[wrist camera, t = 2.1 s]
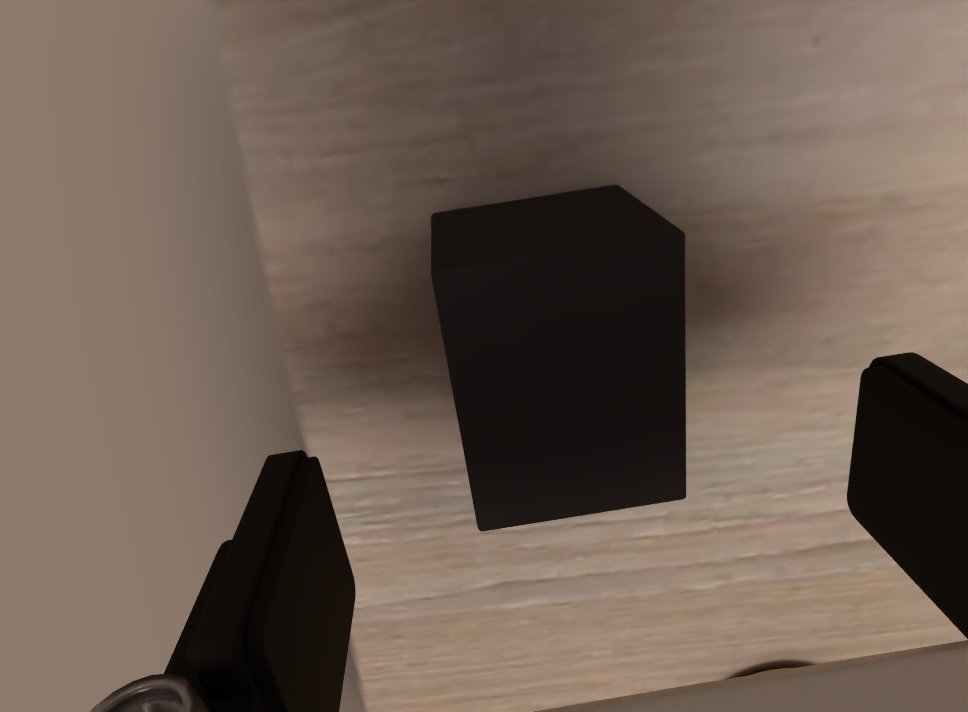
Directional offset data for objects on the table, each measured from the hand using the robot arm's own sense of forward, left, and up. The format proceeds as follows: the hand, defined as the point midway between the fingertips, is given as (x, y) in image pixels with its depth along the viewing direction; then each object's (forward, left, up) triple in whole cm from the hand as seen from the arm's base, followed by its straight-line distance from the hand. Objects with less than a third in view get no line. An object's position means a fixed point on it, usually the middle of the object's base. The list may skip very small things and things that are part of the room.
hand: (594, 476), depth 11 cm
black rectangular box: (0, 0, -7) cm, 7 cm away
